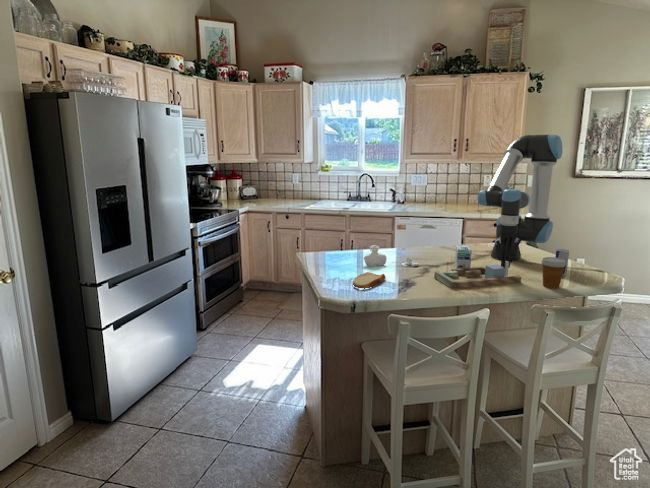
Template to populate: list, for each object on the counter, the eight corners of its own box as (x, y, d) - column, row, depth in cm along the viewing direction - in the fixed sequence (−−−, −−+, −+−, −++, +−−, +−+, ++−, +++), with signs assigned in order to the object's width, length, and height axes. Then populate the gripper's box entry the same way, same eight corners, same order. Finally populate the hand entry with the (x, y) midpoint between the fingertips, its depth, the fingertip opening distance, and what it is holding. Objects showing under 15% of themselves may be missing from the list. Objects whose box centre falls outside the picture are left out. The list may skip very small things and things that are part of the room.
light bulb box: (470, 271, 211) (472, 250, 209) (456, 271, 213) (457, 249, 210) (468, 265, 222) (469, 245, 219) (454, 265, 223) (455, 244, 221)
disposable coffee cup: (540, 288, 186) (543, 261, 184) (537, 282, 195) (540, 256, 192) (565, 290, 183) (568, 263, 180) (561, 284, 192) (564, 257, 189)
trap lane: (494, 270, 213) (495, 264, 212) (520, 282, 195) (521, 276, 194) (431, 275, 205) (431, 269, 204) (452, 288, 187) (452, 281, 186)
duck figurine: (385, 268, 226) (382, 248, 230) (389, 262, 219) (385, 242, 223) (363, 269, 224) (360, 249, 228) (366, 264, 217) (363, 243, 221)
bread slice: (357, 291, 184) (357, 283, 183) (344, 279, 201) (344, 271, 200) (396, 288, 189) (396, 279, 188) (380, 276, 206) (380, 268, 205)
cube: (496, 277, 203) (497, 264, 201) (504, 280, 197) (505, 268, 196) (484, 278, 201) (485, 265, 200) (492, 281, 196) (493, 269, 194)
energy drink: (550, 274, 206) (553, 249, 204) (558, 273, 209) (561, 248, 206) (560, 277, 202) (563, 252, 199) (568, 276, 204) (572, 251, 201)
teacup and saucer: (420, 267, 221) (420, 259, 220) (405, 268, 219) (405, 260, 218) (414, 262, 229) (414, 255, 228) (399, 263, 228) (399, 256, 227)
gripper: (501, 226, 189) (497, 278, 195) (527, 225, 193) (522, 276, 198) (491, 223, 197) (487, 273, 202) (516, 222, 200) (511, 271, 205)
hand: (504, 274), depth 200 cm, fingers closed
